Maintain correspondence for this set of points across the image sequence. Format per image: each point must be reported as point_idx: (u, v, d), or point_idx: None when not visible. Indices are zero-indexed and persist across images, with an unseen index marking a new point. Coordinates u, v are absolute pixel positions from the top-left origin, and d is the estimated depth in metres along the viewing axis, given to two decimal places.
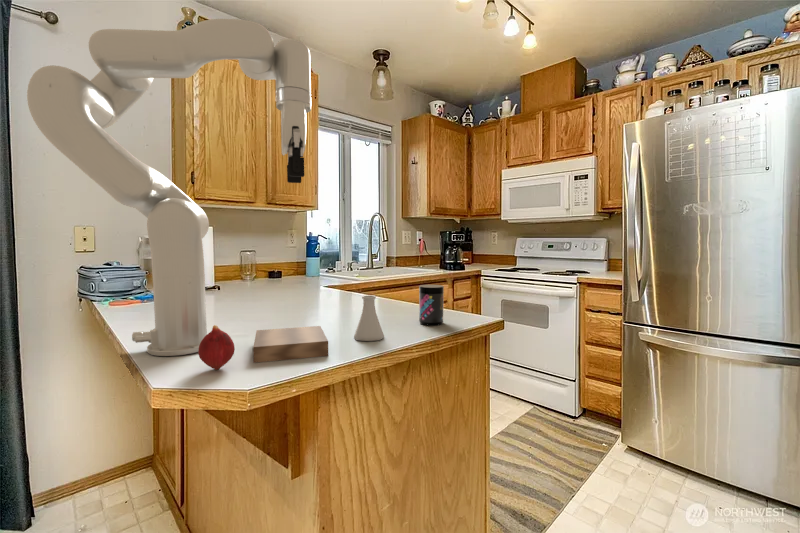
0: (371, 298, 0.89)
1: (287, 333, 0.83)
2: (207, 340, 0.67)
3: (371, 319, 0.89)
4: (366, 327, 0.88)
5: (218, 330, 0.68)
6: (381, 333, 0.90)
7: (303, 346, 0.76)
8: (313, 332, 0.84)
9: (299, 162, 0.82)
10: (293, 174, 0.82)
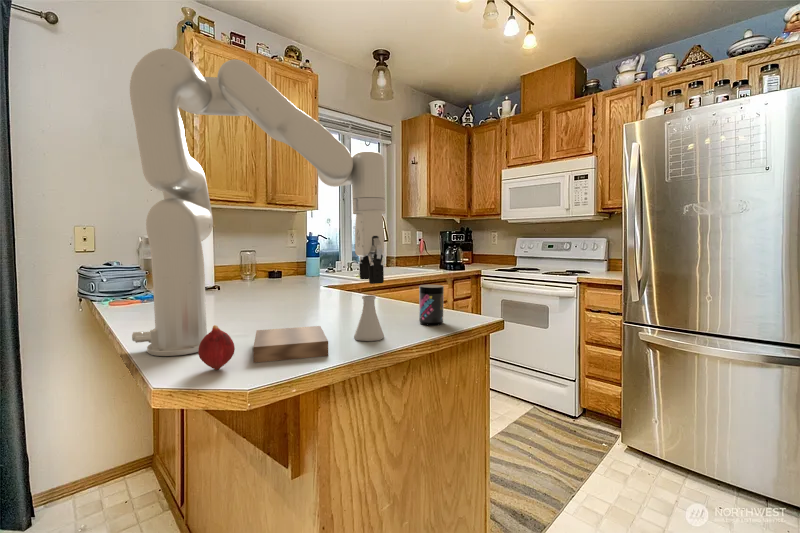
0: (371, 298, 0.89)
1: (287, 333, 0.83)
2: (207, 340, 0.67)
3: (371, 319, 0.89)
4: (366, 327, 0.88)
5: (218, 330, 0.68)
6: (381, 333, 0.90)
7: (303, 346, 0.76)
8: (313, 332, 0.84)
9: (379, 271, 0.85)
10: (373, 282, 0.85)
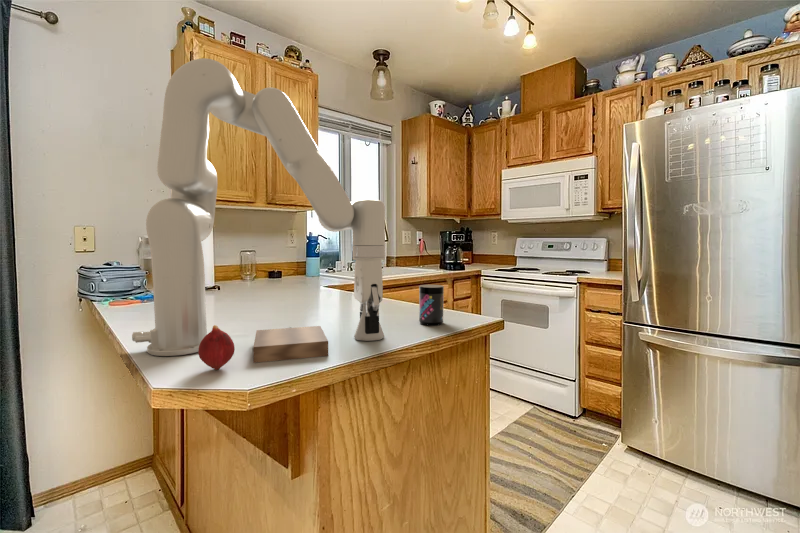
0: None
1: (287, 333, 0.83)
2: (207, 340, 0.67)
3: None
4: None
5: (218, 330, 0.68)
6: (381, 333, 0.90)
7: (303, 346, 0.76)
8: (313, 332, 0.84)
9: (375, 321, 0.87)
10: (369, 332, 0.88)
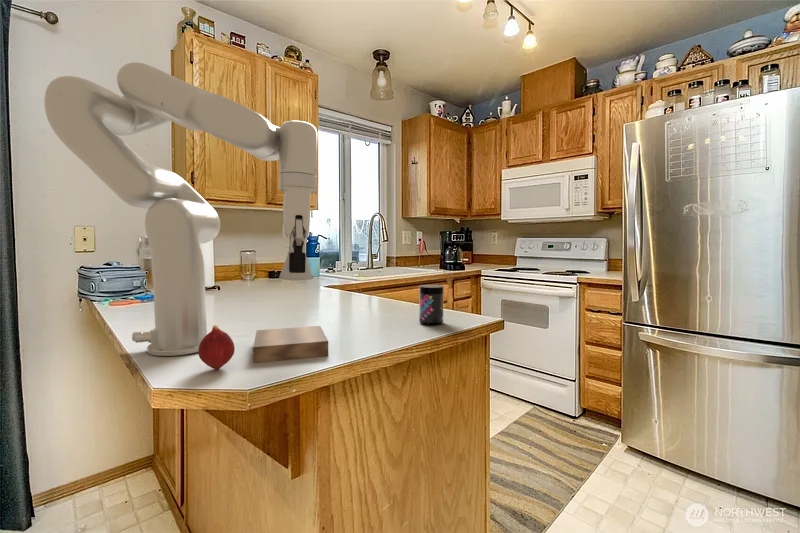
0: None
1: (287, 333, 0.83)
2: (207, 341, 0.67)
3: None
4: None
5: (218, 330, 0.68)
6: (308, 274, 0.81)
7: (303, 346, 0.76)
8: (313, 332, 0.84)
9: (300, 259, 0.78)
10: (293, 271, 0.79)
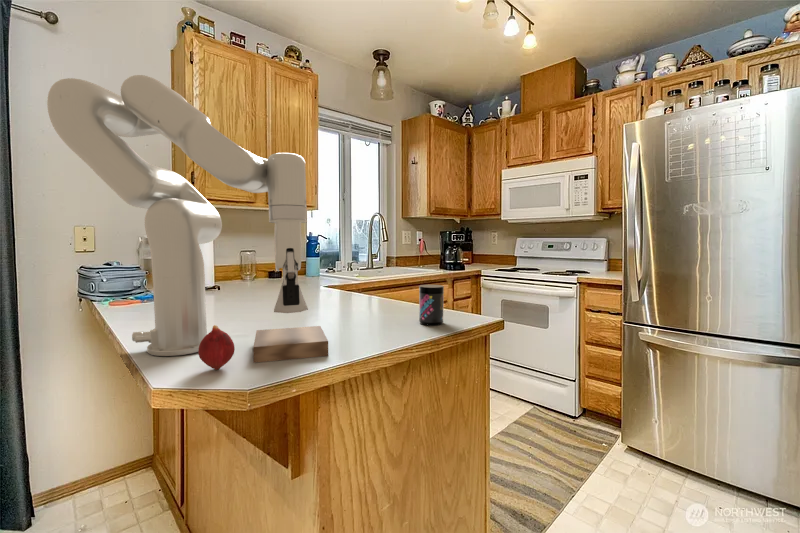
0: None
1: (287, 333, 0.83)
2: (207, 340, 0.67)
3: None
4: None
5: (218, 330, 0.68)
6: (303, 305, 0.80)
7: (303, 346, 0.76)
8: (313, 332, 0.84)
9: (294, 291, 0.77)
10: (287, 303, 0.78)
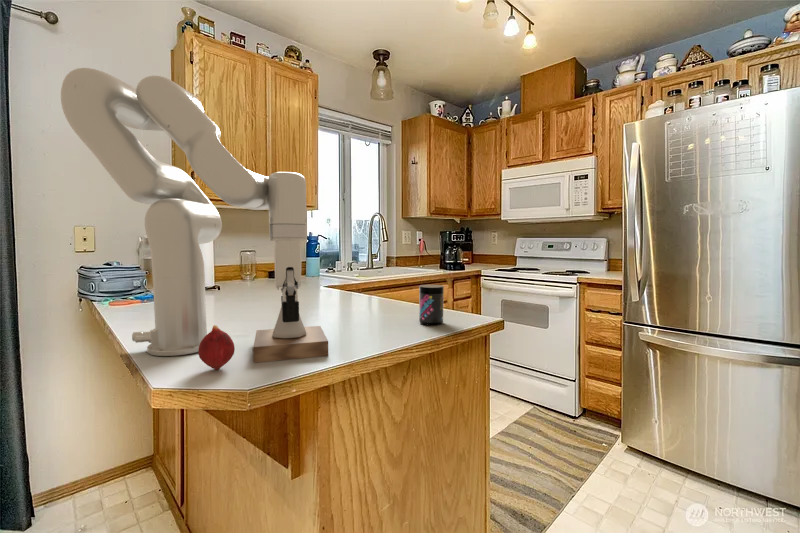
0: None
1: None
2: (207, 340, 0.67)
3: None
4: (283, 323, 0.79)
5: (218, 330, 0.68)
6: (302, 330, 0.80)
7: (303, 346, 0.76)
8: (313, 332, 0.84)
9: (293, 308, 0.76)
10: (287, 320, 0.77)
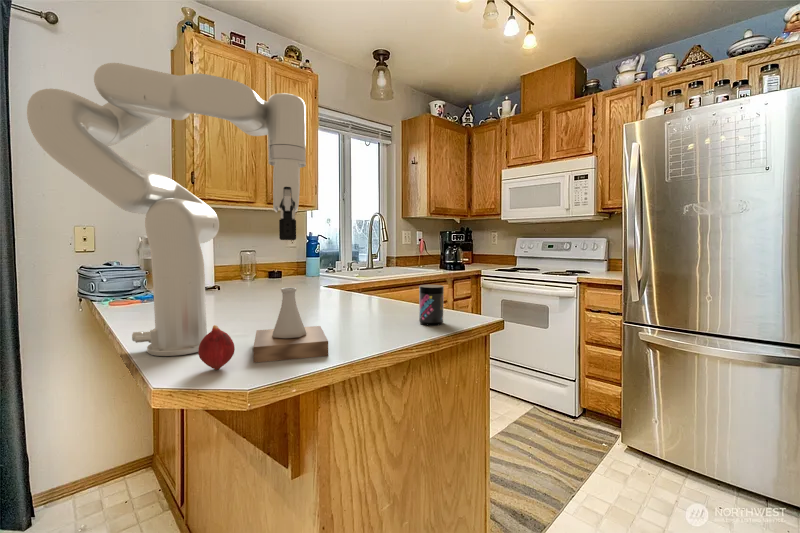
0: (290, 290, 0.80)
1: None
2: (207, 340, 0.67)
3: (290, 314, 0.79)
4: (283, 323, 0.79)
5: (218, 330, 0.68)
6: (302, 330, 0.80)
7: (303, 346, 0.76)
8: (313, 332, 0.84)
9: (290, 225, 0.76)
10: (284, 238, 0.77)
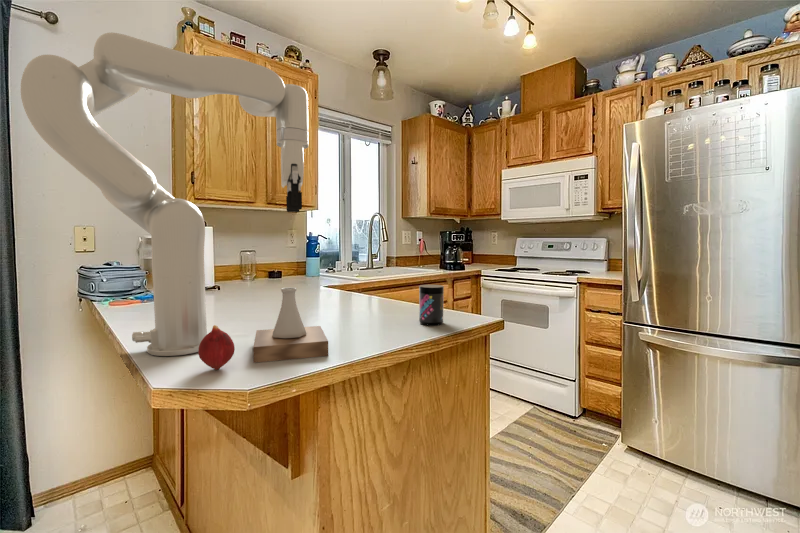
0: (290, 290, 0.80)
1: None
2: (206, 341, 0.67)
3: (290, 314, 0.79)
4: (283, 323, 0.79)
5: (218, 330, 0.68)
6: (302, 330, 0.80)
7: (303, 346, 0.76)
8: (313, 332, 0.84)
9: (297, 196, 0.90)
10: (292, 207, 0.90)
